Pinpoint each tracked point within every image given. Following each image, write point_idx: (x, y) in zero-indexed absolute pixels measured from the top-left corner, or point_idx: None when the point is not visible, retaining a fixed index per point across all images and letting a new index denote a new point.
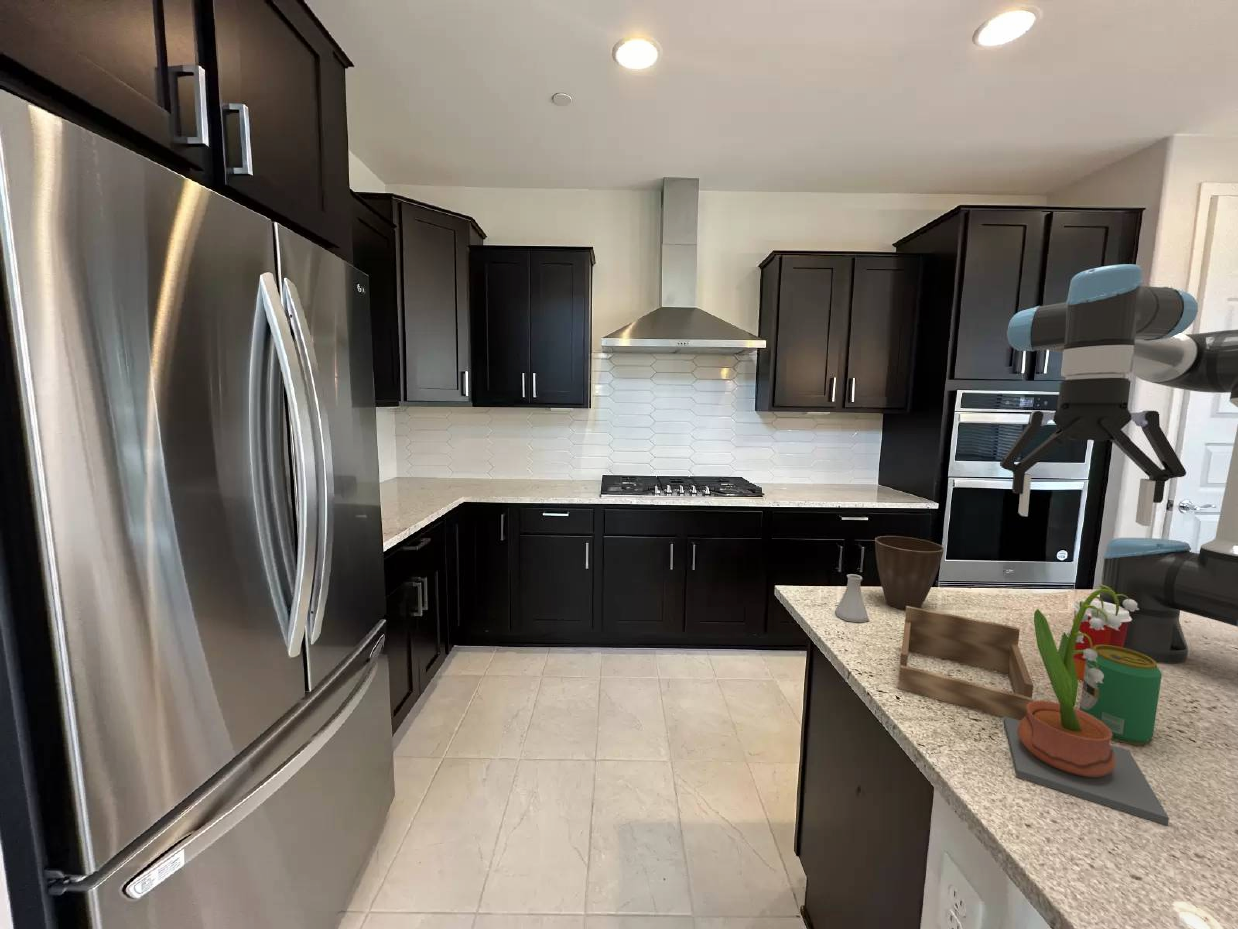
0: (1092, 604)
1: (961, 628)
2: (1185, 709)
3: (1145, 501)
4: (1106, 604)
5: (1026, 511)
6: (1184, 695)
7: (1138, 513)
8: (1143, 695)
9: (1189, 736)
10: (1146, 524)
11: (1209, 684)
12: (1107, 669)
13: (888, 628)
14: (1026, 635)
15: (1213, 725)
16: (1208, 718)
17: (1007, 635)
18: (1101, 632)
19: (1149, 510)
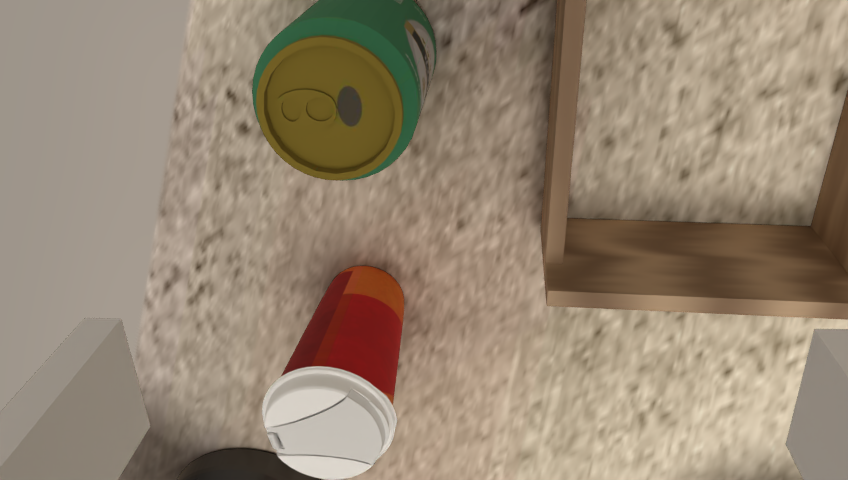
0: (345, 437)
1: (700, 278)
2: (216, 245)
3: (15, 450)
4: (309, 456)
5: (845, 353)
6: (207, 314)
7: (110, 448)
8: (310, 11)
9: (232, 112)
10: (97, 327)
11: (157, 392)
12: (382, 34)
13: None
14: (464, 471)
15: (182, 196)
16: (184, 225)
17: (576, 277)
18: (340, 346)
19: (30, 396)
